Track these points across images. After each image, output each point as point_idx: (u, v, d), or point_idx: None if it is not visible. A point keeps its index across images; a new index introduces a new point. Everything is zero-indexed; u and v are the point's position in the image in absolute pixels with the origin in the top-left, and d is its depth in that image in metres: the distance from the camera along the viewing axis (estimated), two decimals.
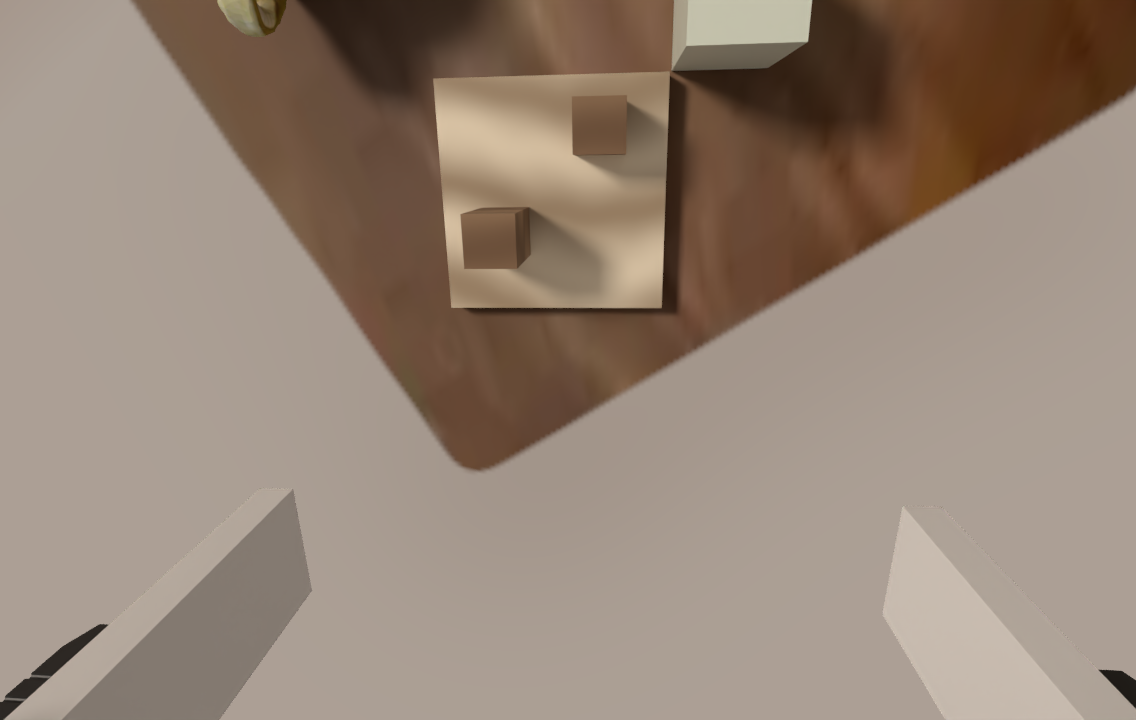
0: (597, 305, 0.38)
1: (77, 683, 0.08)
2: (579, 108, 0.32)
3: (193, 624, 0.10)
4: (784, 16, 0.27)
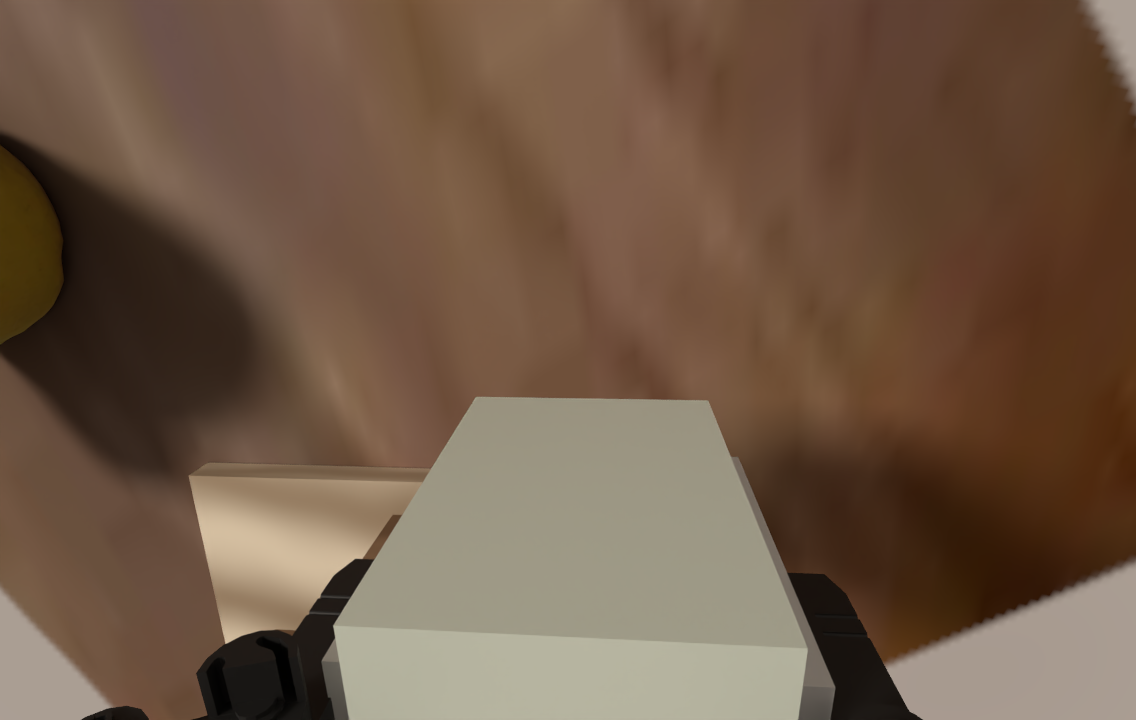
0: None
1: None
2: None
3: None
4: None
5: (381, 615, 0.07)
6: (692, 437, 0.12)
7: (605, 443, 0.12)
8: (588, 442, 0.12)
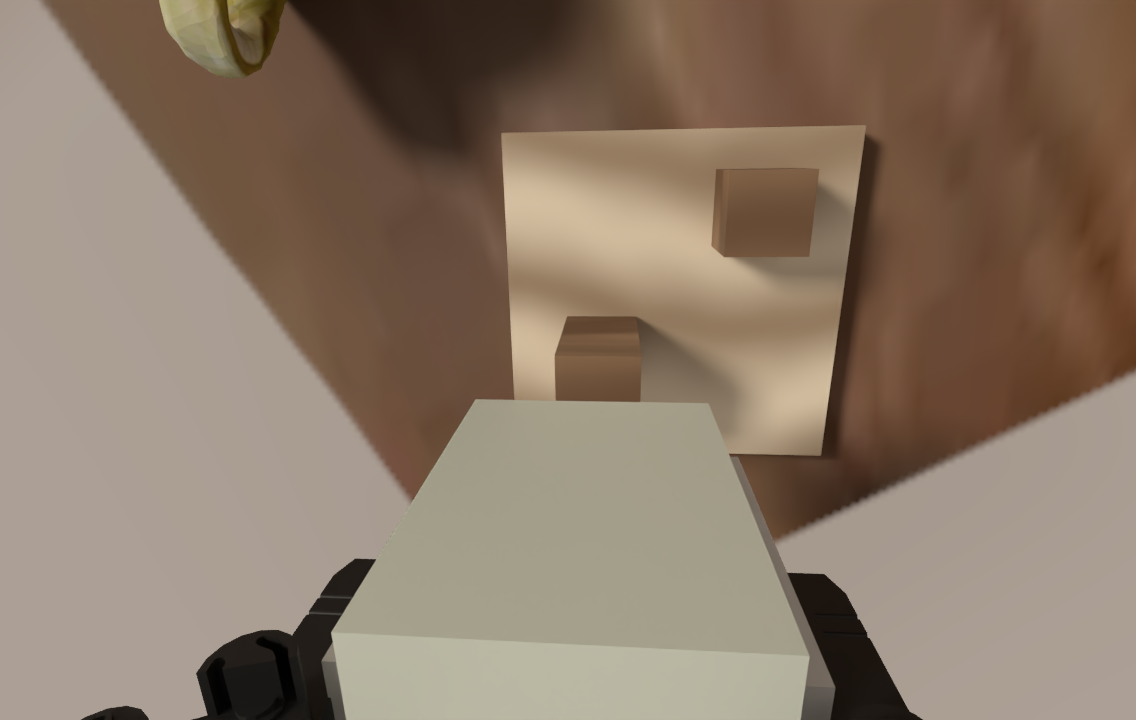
0: (727, 450, 0.27)
1: None
2: (740, 188, 0.20)
3: None
4: None
5: (380, 621, 0.07)
6: (692, 440, 0.12)
7: (605, 446, 0.12)
8: (588, 446, 0.12)
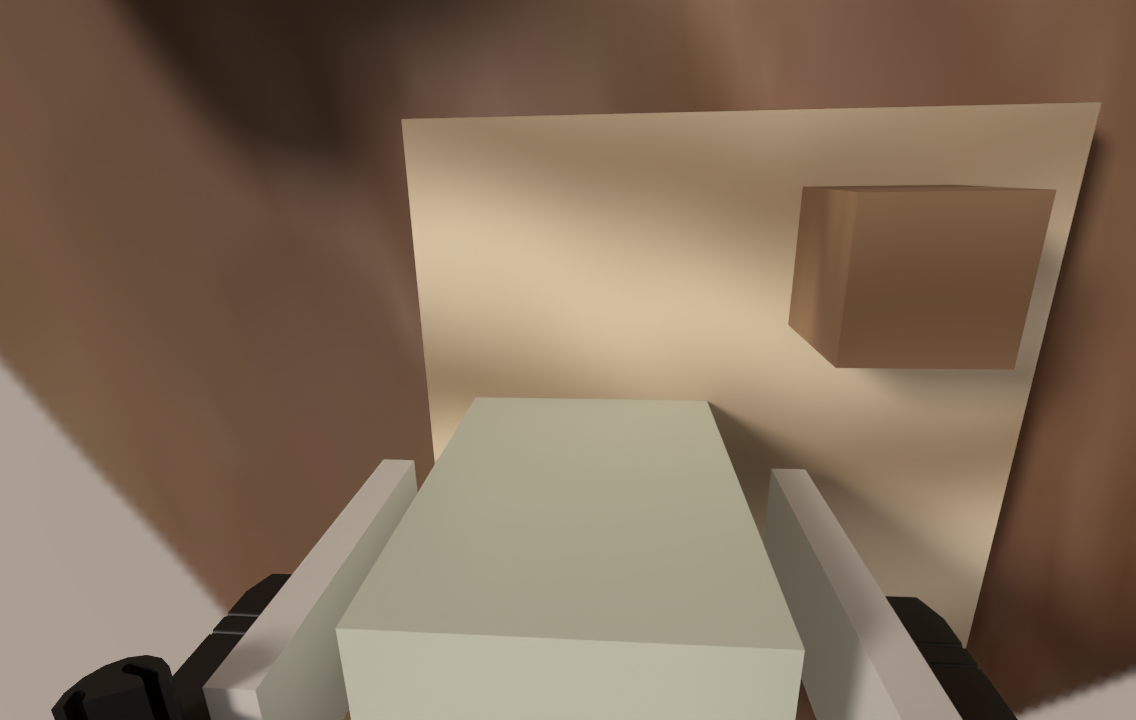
0: None
1: (289, 614, 0.09)
2: (879, 231, 0.10)
3: (358, 573, 0.11)
4: None
5: (383, 618, 0.07)
6: (691, 437, 0.12)
7: (604, 444, 0.12)
8: (587, 443, 0.12)
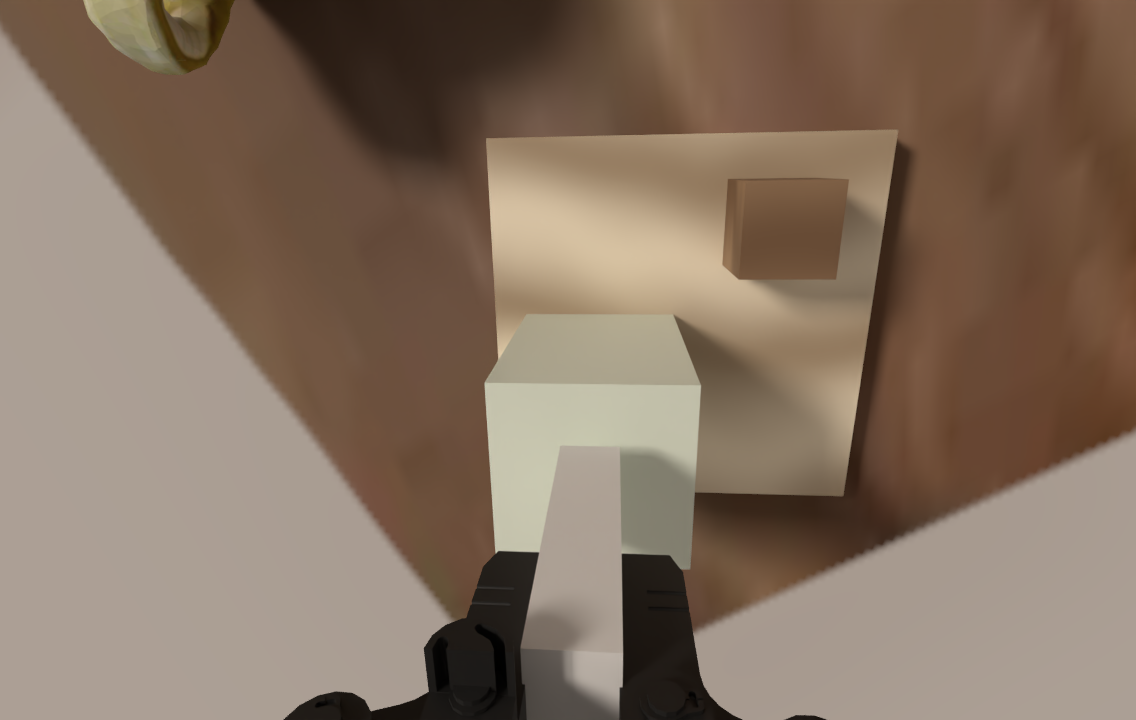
0: (739, 489, 0.24)
1: (560, 584, 0.10)
2: (757, 202, 0.18)
3: None
4: (649, 535, 0.16)
5: (505, 380, 0.15)
6: (660, 328, 0.20)
7: (609, 331, 0.20)
8: (599, 331, 0.20)
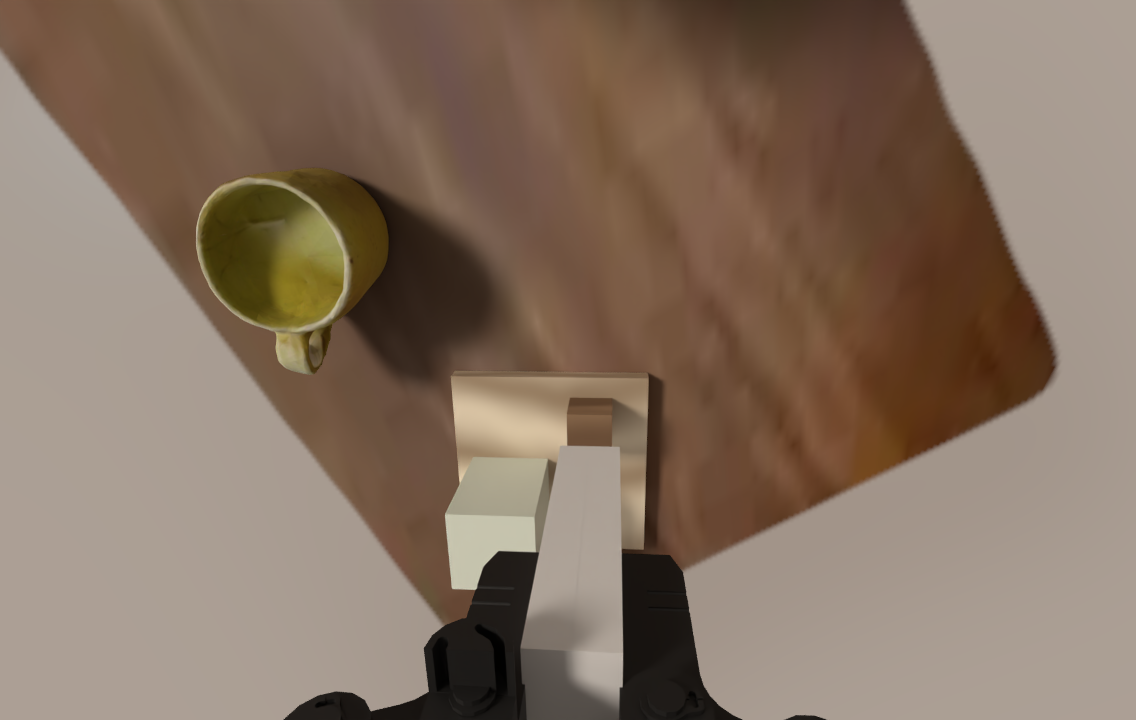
0: None
1: (560, 584, 0.10)
2: (572, 423, 0.39)
3: None
4: None
5: (454, 512, 0.36)
6: (536, 472, 0.41)
7: (510, 474, 0.41)
8: (505, 474, 0.41)
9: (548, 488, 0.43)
